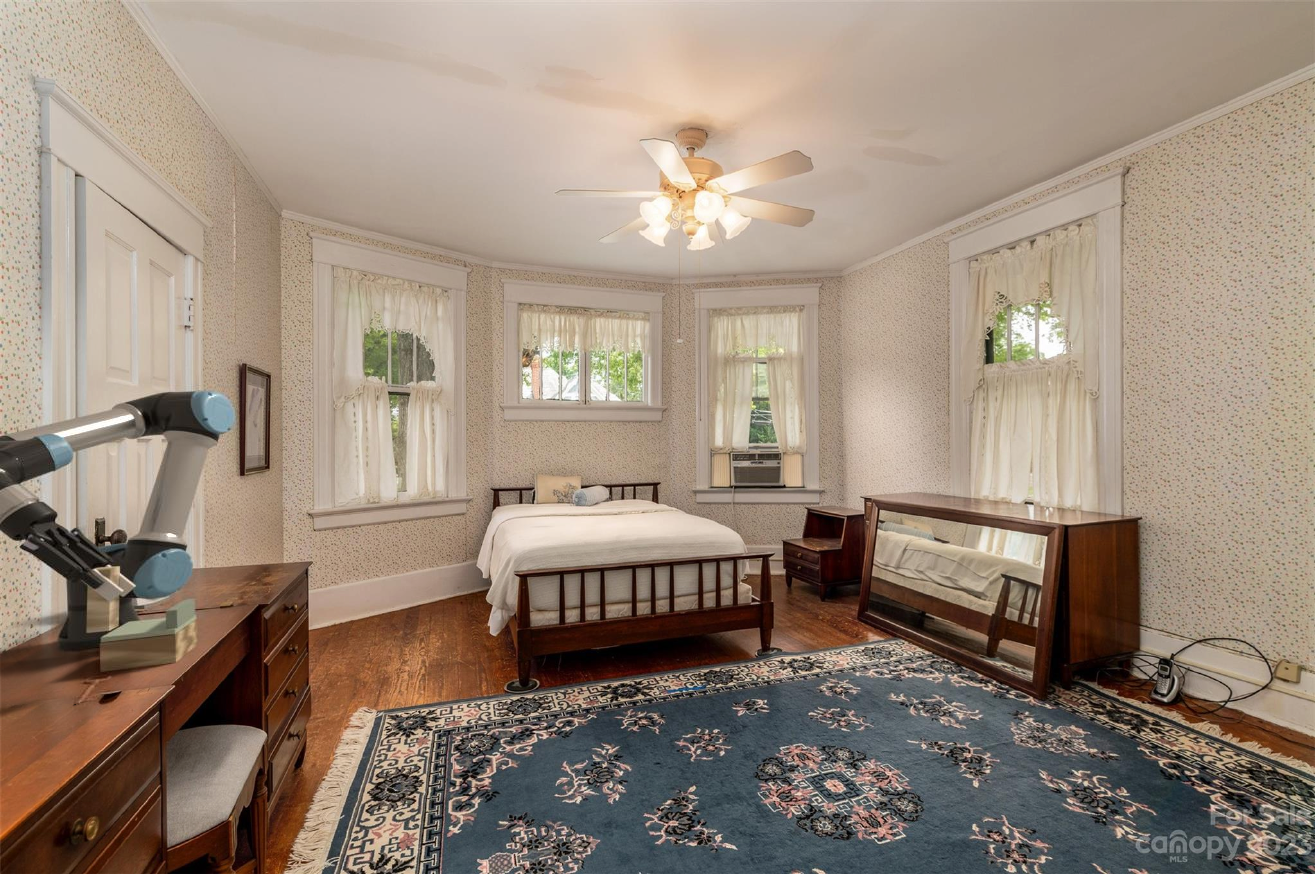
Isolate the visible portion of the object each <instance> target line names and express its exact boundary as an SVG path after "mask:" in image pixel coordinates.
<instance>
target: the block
mask: <svg viewBox="0 0 1315 874" xmlns="http://www.w3.org/2000/svg"><path fill="white" fill-rule="evenodd" d="M95 569H96V570H98V571H99V572H100V573H102V574H103V575H104V576H106V577H107V578H108V579H109V580H111V581H112V582H113V583H115V584H116V585H117V586H118V587H119V577H120V566H117V567H101V568H95ZM92 570H94V569H92ZM92 570H91V571H92ZM91 571H90V572H91ZM118 626H119V596H117V597H116V598H115V599H114V600H113V601H111V602H109V601H107V600H106V599H105V598H104V597H102V596H101V595H100V594H98V593H97V592H96V591H94V590H93V589H92V588H91V587H89V586H88V590H87V633H91V632H102V631H110V630H112V629H114V628H116V627H118Z"/></svg>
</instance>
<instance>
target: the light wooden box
mask: <svg viewBox="0 0 1315 874" xmlns="http://www.w3.org/2000/svg"><path fill="white" fill-rule="evenodd" d="M197 646H198V619H195V620H194V621H193V622H191V623H190V624H188V625H187V626H186V627H184V628H183V629H181V630H180V631H179V632H177V633H176V634H170V635H161V636H152V637H143V638H134V639H125V640H117V641H108V642H102V643H100V647H99V656H100V657H99V660H100V662H99V663H100V664H99V665H100V672H101V673H102V672H110V671H121V670H127V669H133V668H142V667H151V666H160V665H166V664H167V665H168V664H172V663H174V664H176V663H177V662H178V661H179V660H181V659H182V658H183V657H185V656H186V655H187V654H189V652H190V651H191V650H193V649H195V647H197Z"/></svg>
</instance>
